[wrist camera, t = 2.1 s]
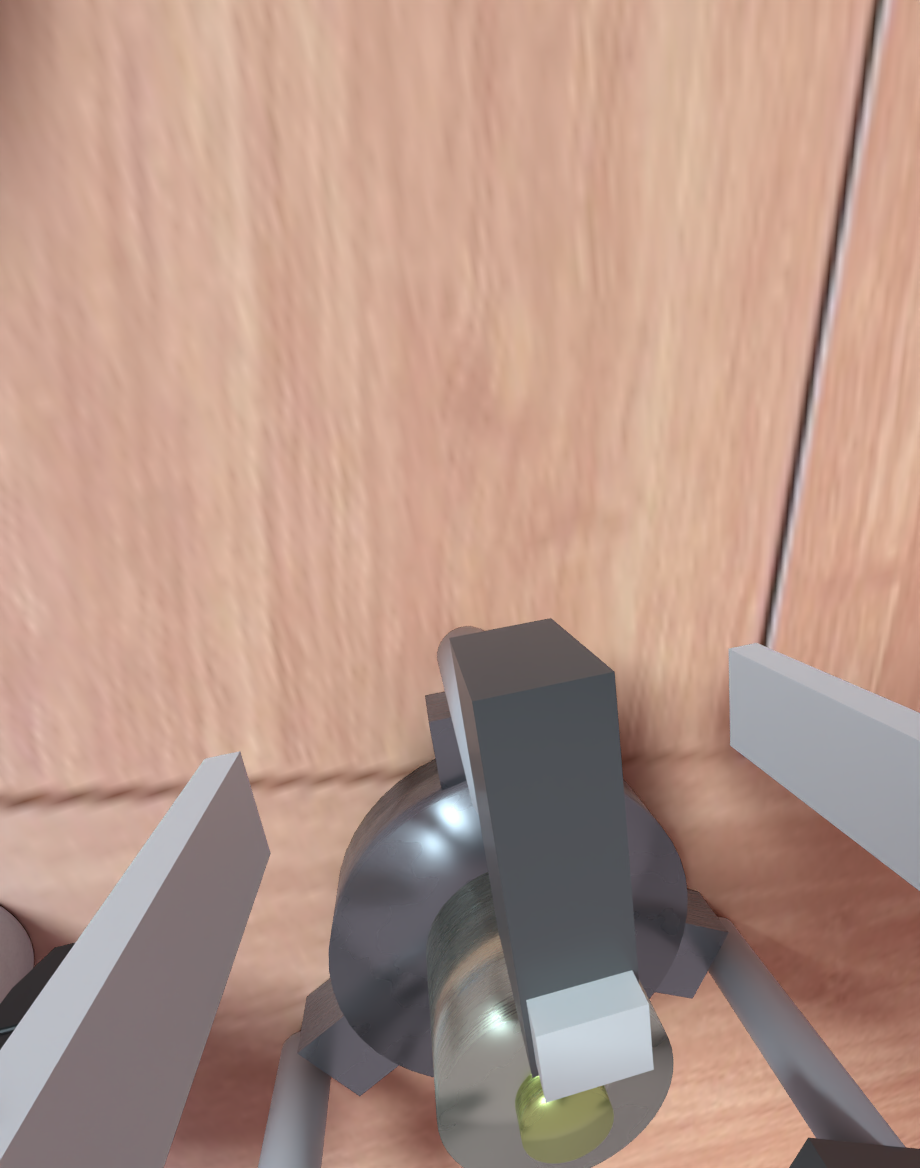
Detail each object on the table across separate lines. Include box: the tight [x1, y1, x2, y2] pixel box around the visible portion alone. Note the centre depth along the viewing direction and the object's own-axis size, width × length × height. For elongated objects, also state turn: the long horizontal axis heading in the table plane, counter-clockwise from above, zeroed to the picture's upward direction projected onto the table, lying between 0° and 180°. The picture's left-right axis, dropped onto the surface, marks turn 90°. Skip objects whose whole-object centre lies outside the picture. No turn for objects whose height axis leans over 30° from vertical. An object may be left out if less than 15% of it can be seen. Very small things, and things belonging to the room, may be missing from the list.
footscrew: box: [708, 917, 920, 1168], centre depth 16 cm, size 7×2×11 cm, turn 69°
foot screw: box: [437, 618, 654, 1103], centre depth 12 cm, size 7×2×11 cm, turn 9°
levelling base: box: [297, 692, 729, 1168], centre depth 16 cm, size 18×16×8 cm
